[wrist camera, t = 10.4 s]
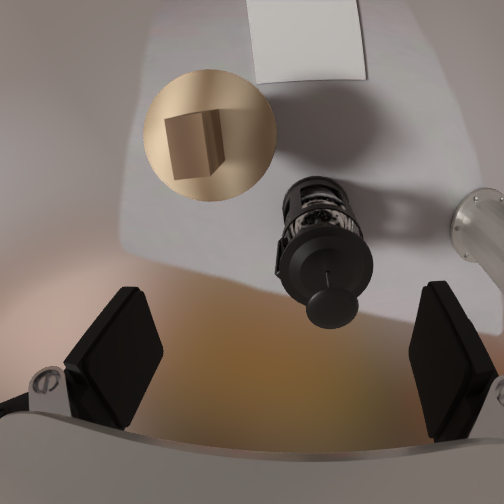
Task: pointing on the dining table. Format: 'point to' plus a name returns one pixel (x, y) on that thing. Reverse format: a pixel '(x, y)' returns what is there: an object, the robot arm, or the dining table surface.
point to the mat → (306, 40)
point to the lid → (210, 135)
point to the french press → (322, 254)
